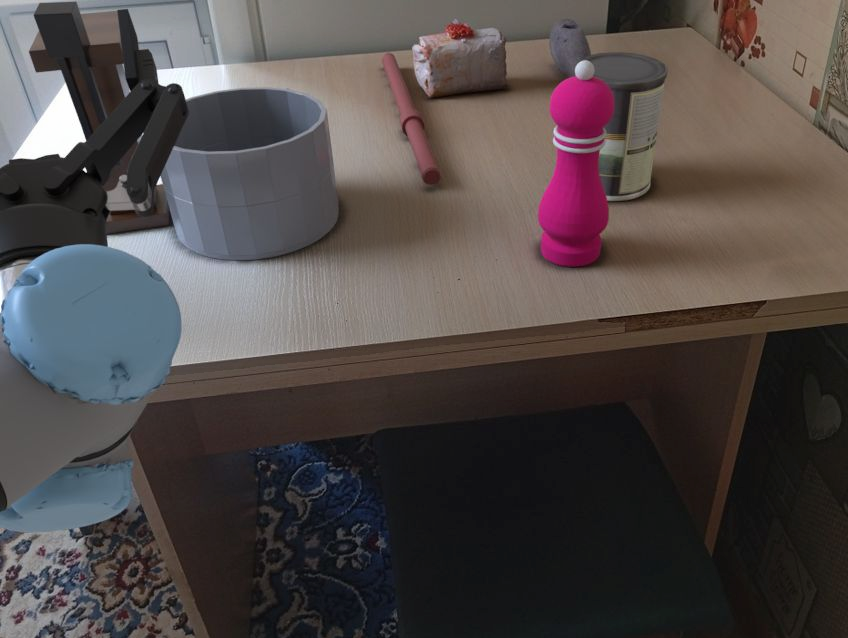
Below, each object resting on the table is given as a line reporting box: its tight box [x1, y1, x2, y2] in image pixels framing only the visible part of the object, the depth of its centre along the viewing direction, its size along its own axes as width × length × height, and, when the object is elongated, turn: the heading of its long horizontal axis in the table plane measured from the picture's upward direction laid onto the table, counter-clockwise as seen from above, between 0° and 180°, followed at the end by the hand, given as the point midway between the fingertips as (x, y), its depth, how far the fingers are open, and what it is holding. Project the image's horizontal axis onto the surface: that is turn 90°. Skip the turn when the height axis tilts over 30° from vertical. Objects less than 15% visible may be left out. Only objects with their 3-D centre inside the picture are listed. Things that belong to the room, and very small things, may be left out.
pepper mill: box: [537, 60, 614, 268], centre depth 77 cm, size 7×7×20 cm
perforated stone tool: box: [548, 18, 592, 79], centre depth 125 cm, size 15×5×7 cm, turn 6°
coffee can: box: [574, 51, 669, 202], centre depth 92 cm, size 10×10×14 cm
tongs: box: [33, 1, 122, 165], centre depth 76 cm, size 16×3×3 cm
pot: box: [160, 86, 340, 261], centre depth 86 cm, size 18×18×12 cm
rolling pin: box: [381, 52, 442, 186], centre depth 112 cm, size 45×3×3 cm, turn 11°
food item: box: [411, 18, 508, 98], centre depth 120 cm, size 14×8×10 cm, turn 106°
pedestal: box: [28, 10, 170, 235], centre depth 84 cm, size 12×8×21 cm, turn 16°
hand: (30, 31), depth 58 cm, fingers open, 13 cm apart
